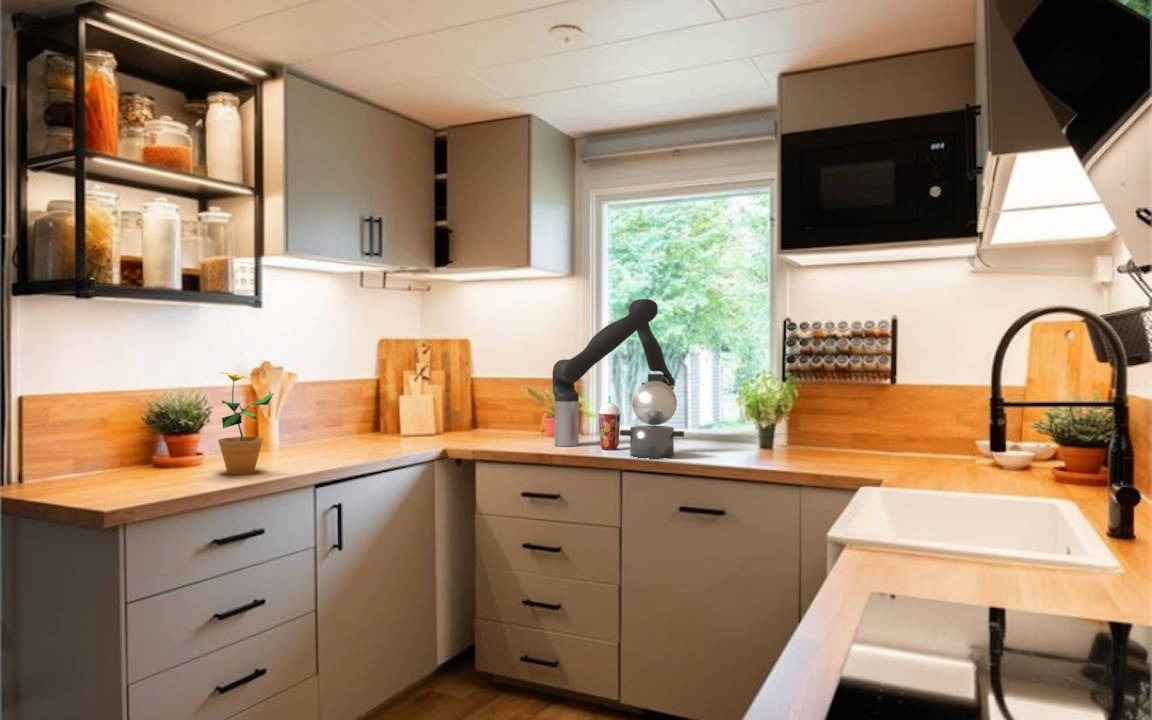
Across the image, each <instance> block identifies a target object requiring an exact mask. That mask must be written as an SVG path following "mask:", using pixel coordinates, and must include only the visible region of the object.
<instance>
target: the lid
mask: <svg viewBox="0 0 1152 720" xmlns="http://www.w3.org/2000/svg"><path fill="white" fill-rule="evenodd" d="M662 375H663V373H648V374H647V382H643V383H644V384H643V385H642V384H640V385H639V387H638V388H637V389H636V390H635V392H634V394H633V396H632V399H631V400H632V401H631V402H632V403H631V405H632V410H633V413H634V414H635V416H636V418H638V420H640V421H641V422H642V423H644V424H646V425H648V426H661V425H664V424H665V423H667V422H668V421H670V420H671V419H672V418H673V416H674V415H675V413H676V411H677V405H678V401H677V396H676V394H675V392H674V390H672V389H671V388H670V387H669V386H668V385H667V384H665V383H663V382H662Z"/></svg>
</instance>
